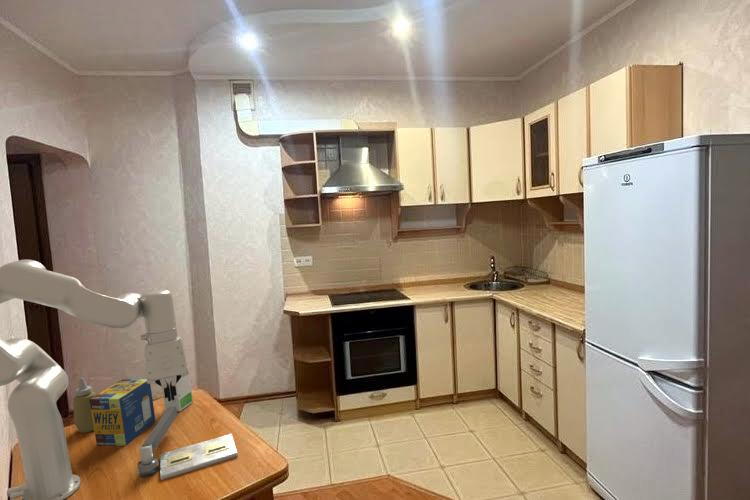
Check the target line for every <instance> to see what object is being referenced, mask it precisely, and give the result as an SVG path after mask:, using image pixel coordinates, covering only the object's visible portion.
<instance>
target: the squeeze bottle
mask: <svg viewBox="0 0 750 500" xmlns="http://www.w3.org/2000/svg"><path fill="white" fill-rule="evenodd" d="M74 392H75V396H74V397H73V401H72V404H73V422H74V425H75V427H76V428H77V430H78V432H79V433H82V434H87V433H91V432H93V431H94V425H93V419H92V413H91V407H90V401H89V399H91V398H92V397H94V396H96V395H97V393H96V392H95V391H93V388H92V386H90V385H88V384H87V382H86V380H85V377H80V378H79V380H78V388H76V390H75V391H74Z"/></svg>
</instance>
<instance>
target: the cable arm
mask: <svg viewBox="0 0 750 500" xmlns="http://www.w3.org/2000/svg"><path fill="white" fill-rule="evenodd" d="M177 416H178V412H177V410H176V406H175V407H168V409H167V410H166V411H165V410H164V413H163V414H162V415H161V417H160V418H159V420H158V421H157V423H156V424H155V426H154V427H153V428H152V430H151V431H150V434H149V435H148V436H147V437H146V439H145V441H144V442H143V444H142V445H141V446H139V448H138V450H139V455H140V456H139V457H140V461H141V463H142V464H143V465H145V464H149V463H151V462H152V461H153V460H154V459H153V457H154V453H155V451H156V450H157V449H158V447H159V445H160V443H161V442H162V440H163V439H164V437H165V435H166V433H168V430H169V429H170V427H171V426H172V424H173V422H174V420H176V418H177Z"/></svg>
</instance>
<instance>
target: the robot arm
mask: <svg viewBox="0 0 750 500" xmlns="http://www.w3.org/2000/svg"><path fill="white" fill-rule="evenodd" d="M14 299H17V300H21V301H25V302H30V303H35V304H39V305H42V306H46V307H51V308H54V309H58V310H61V311H63V312H64V313H66V314H68V315H71V316H72V317H75V318H76V319H79V320H81V321H84V322H86V323H90V324H94V325H99V326H103V327H106V328H111V329H125V328H129V327H130V326H131V325H133V324H135V322H136V321H137V320H138V319H140V318H143V319H144V324H145V325H144V326H145V327H144V328H145V333H143V334H141V335H140V340H141V341H146V342H145V343H144V350H143V351H144V354H143V355H144V366H145V374H146V375H145V376H146V379H147V383H148V384H150V385H151V384H152V385H153V384H156V385H158V386H160V387H161V389H162V388H164V395H165V398H168V402H169V401H171V399H172V401H173V400H174V396H176V395H177V393H176V386H175V385H176V383H177V382H178V381H179V380H180V378H182V377H184V376H186V375H188V374H189V375H190V370H189V371H188V369H189V368H188V369H187V362H188V361H187V356H186V352H185V348H184V347H185V346H184V344H183V340H182V337H181V336H179V335H178V329H177V321H176V315H175V313H176V312H175V306H174V300H173V295H172V292H171V291H169V290H167V289H165V290H164V289H159V290H152V291H148V292H126V293H122V294H121V295H118V296H117V297H111V296H108V295H105V294H101V293H98V292H95V291H93V290H90V289H88V288H86V287H85V286H84V285H83V284H82V282H81V281H80V280H79V279H78V278H76V277H74V276H70V275H67V274H63V273H59V272H55V271H51V270H48V269H47V268H46V266H44V264H42V263H41V262H39V261H38V260H37V261H36V260H34V259H19V260H16V261H12V262H8V263H5V264H3V265H2V266H1V265H0V305H1V304H3V303H5V302H8V301H12V300H14ZM169 377H171V382H170V387H169V385H168V383H167V381H166V378H169ZM15 380H16V381H18V382H19V383H18V384H17V386H15V387H14V388H13V390H12V391H11V393H10V395H9V397H8V400H7V411H8V414H9V416H10V418H11V421H12V422H13V427H14V428H15V433H16V437H17V438H16V439H17V442H18V447H19V451H20V457H21V462H22V467H23V473H24V477H25V482H24V483H22V484H21V485H18V486H13V487H9V488H7V490H6V494H7V495H6V496H7V497H9V498H10V500H15V499H18V498H20V497H21V500H65V499H67V498H68V497H70V496H71V495H72V494H74V493H75V492H76V491H77V490H78V489H79V487H80V486H81V477H80V476H79V475H77V474H73V471H72V466H71V460H70V454H69V450H68V443H67V437H66V432H65V426H64V423H63V422H64V421H63V419H62V415H61V413H60V411H59V409H58V406H57V402H58V400H59V399H60V398H61V397H62V396H63V394H64V393H65V392H66V390H67V388H68V386H69V377H68V374H67V373H66V371H65V370H64V369H63V368H62V367H61V365H59V363H58V362H56V361H55V360H54V358H52V357H51V356H50V355H49V354H48V353H47V352H46V351H45V350H44V349H43V348H41V346H39V345H38V344H36V343H35V342H34V341H31V340H30V339H26V338H23V337H14V338H9V339H6V340H5V339H3V338H2V337H1V336H0V387H1V386H6V385H8V384H10V383H12V382H14V381H15ZM170 392H171V394H170Z"/></svg>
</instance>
